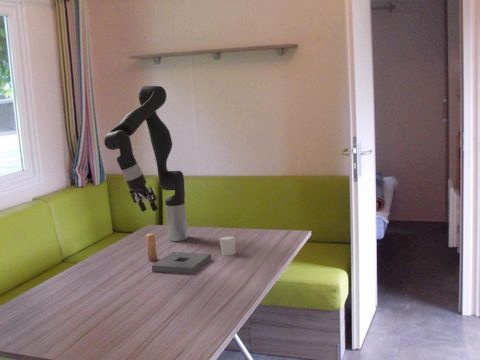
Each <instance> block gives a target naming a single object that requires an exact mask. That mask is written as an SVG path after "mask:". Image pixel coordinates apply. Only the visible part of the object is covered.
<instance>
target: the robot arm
mask: <svg viewBox="0 0 480 360" xmlns="http://www.w3.org/2000/svg"><path fill="white" fill-rule="evenodd" d="M166 100H167V92H166V90H165V88H164V87H163V86H160V85H143V86H141V87H140V88H139V90H138V101H139V106H138V107H136V108H135V109H133V110H131V111H130V112H129V113H127V114H126V115H125V116H124V118H122V120H121V121H120V122H119V124H117V125H116V126H114V127H113V128H112V129H111V130H110V131H109V132H107V134H106V135H105V136H104V140H103V143H104V146H105V148H107V150H111V151H114V150H119V155H117V156H116V162H117V164H118V167H119V169H120V171H121V173H122V176H123V178H124V180H125V182H126V185H127V186H128V188H129V194H130V197H131V199H132V201H133V203H134V204H137V205H138V206H139V209H140V210H141V212H142V213H144V212H146V211H147V206H146V204H145V202H144V201H146V202H147V203H148V204H149V206H150V207H151V208H150V209H151V210H152V212H156V211H158V209H159V208H158V206H157V203H156V202H155V201H157V199H158V198H157V196H156V194H155V192H154V190H153V187H151V186H149V187H147V186H146V184H147V180H146V178H145V176H144V174H143V172H142V170H141V167H140V165H139V164H138V162H137V160H136V157H135V155H134V153H133V152H134V151H133V146H132V142H131V141H132V140H131V138H130V137H131V136H132V135H133V134H134V133H135V132H136V131H137V130H138V129H139V128H140V126H141V125H142V124H143V123H144V122H145V121H146V125H147V130H148V133H149V138H150V142H151V147H152V150H153V154H154V158H155V163H156V168H157V175H158V180H159V185H160V187H161V189H162V190H163V191H174V194H173V195H171V196H169V197H166V198H165V202H164V204H165V210H166V211H165V213H166V223H167V233H168V234H167V235H168V240H169V241H171V242H182V241H185V240H187V239H188V238H189V230H188V219H187V213H186V212H187V211H186V203H185V202H186V201H185V199H186V197H185V195H186V193H185V177H184V173H183V172H182V171H181V170H168V168H167V167H168V166H167V161H168V158H169V156H170V154H171V151H172V148H173V140H172V136H171V132H170V129H169V128H168V127H167V125H166V124H165V123H164V122H163V121H162V120H161V118H160V117H159V116H158V114H157V112H156V111H157V110H159V109H160V108H161V107H163V105H164V104H166V103H165V102H166Z"/></svg>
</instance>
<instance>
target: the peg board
mask: <svg viewBox="0 0 480 360" xmlns="http://www.w3.org/2000/svg"><path fill="white" fill-rule="evenodd" d="M210 261H212V253H204V252H182V251H181V252H180V251H172V252H170V253H169V254H167V255H165V256H164V257H163V258H161V259H159V260H158V261H157V262H155V263H153V264H152V265H151V271H152V272H156V273H173V274H185V275H187V274H188V275H193V274H194V273H196V272H197V271H198V270H200V269H201V268H202V267H203V266H205V265H206V264H208V263H209V262H210Z"/></svg>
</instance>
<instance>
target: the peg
mask: <svg viewBox="0 0 480 360" xmlns="http://www.w3.org/2000/svg"><path fill="white" fill-rule="evenodd" d="M145 237H146V250H147V257H148V261H149V262H150V261H151V262H153V261H157V260H158V256H157V253H158V252H157V245H156V244H157V243H156V237H155V233H147V234H145Z"/></svg>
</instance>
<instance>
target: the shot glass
mask: <svg viewBox="0 0 480 360" xmlns="http://www.w3.org/2000/svg"><path fill="white" fill-rule="evenodd" d="M219 244H220V249H221V254H222V256H225V257H226V256H227V257H228V256H234V255H235V254H236V237H235V236H232V235H224V236H221V237H219Z"/></svg>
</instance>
